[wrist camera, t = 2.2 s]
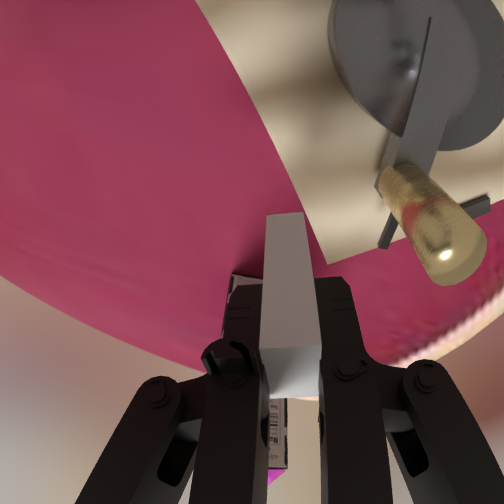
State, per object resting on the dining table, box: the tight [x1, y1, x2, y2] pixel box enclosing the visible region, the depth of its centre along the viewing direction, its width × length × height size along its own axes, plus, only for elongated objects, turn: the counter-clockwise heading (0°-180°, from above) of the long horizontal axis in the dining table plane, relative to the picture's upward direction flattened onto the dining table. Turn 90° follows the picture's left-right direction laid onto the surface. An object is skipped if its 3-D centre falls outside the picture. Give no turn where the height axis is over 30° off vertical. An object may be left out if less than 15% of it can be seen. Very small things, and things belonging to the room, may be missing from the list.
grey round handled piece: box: [327, 0, 504, 286], centre depth 10 cm, size 18×12×9 cm, turn 171°
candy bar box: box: [220, 274, 288, 486], centre depth 23 cm, size 11×5×16 cm, turn 173°
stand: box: [195, 0, 504, 265], centre depth 13 cm, size 24×24×3 cm
